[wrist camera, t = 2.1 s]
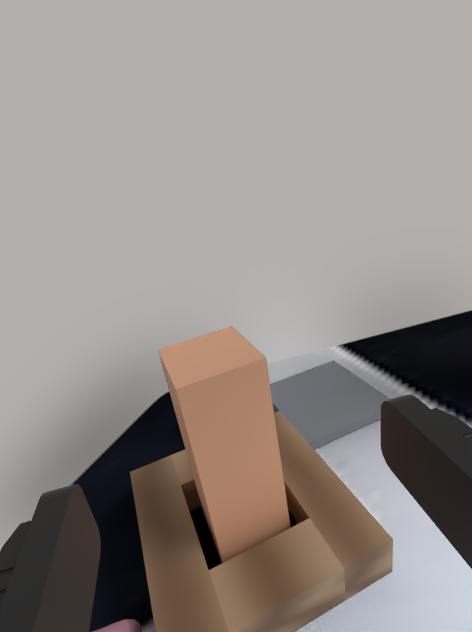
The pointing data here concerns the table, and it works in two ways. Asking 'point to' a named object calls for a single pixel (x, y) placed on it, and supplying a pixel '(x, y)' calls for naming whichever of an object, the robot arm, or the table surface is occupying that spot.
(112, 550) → the table surface
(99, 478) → the table surface
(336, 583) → the walnut pocket block
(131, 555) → the table surface
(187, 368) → the terracotta block
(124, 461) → the table surface
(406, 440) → the robot arm
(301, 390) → the slate pad
